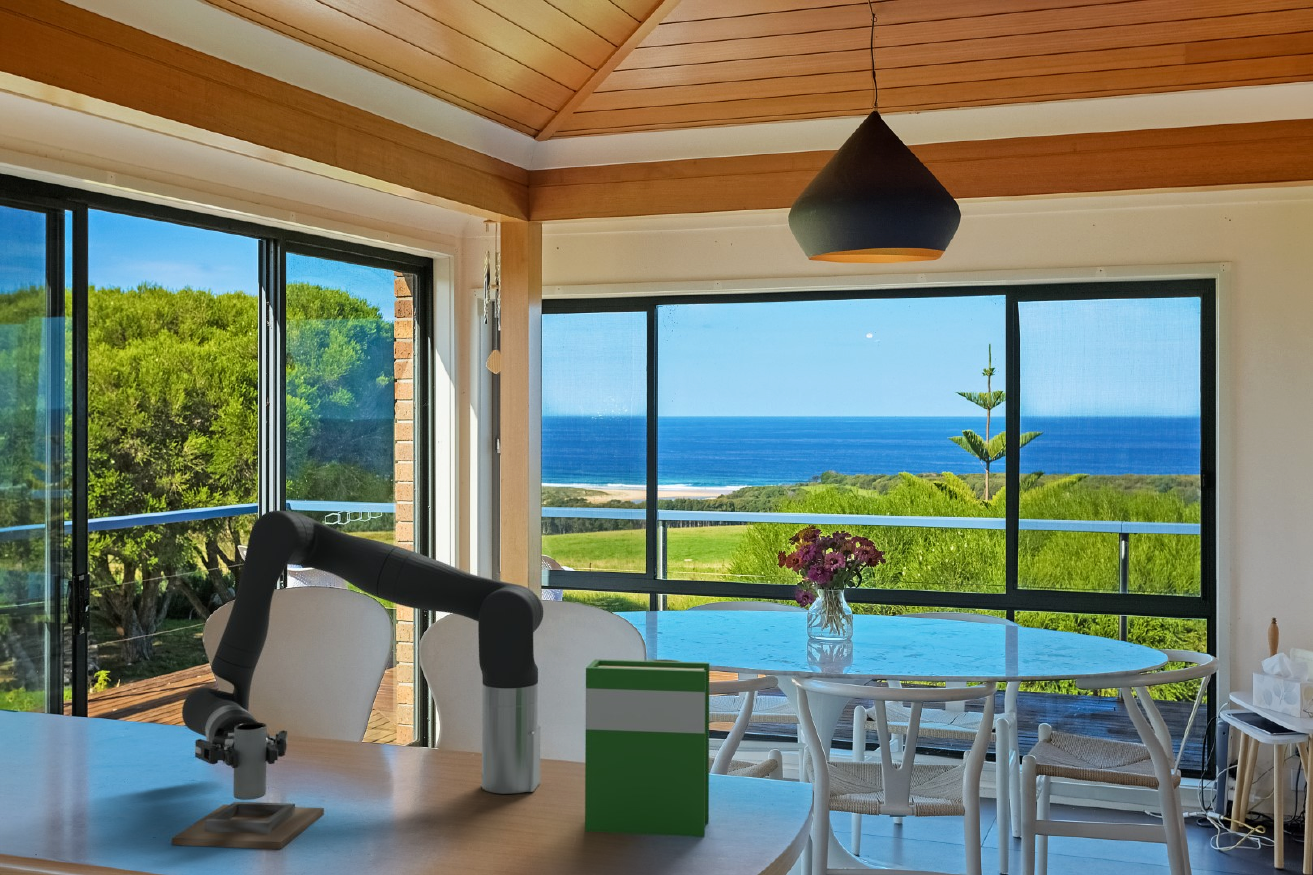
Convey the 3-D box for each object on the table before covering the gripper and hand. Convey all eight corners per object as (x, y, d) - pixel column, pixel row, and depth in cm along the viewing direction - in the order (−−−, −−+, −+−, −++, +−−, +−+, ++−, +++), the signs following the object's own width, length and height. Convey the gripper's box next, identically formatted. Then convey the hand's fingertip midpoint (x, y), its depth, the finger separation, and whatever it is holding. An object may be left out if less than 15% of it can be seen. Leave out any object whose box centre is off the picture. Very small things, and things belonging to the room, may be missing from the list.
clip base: (323, 814, 182) (323, 798, 182) (280, 848, 166) (281, 831, 166) (223, 810, 183) (223, 794, 183) (171, 844, 167) (171, 827, 167)
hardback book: (708, 821, 180) (709, 662, 180) (704, 836, 172) (705, 671, 173) (594, 815, 182) (595, 659, 182) (584, 831, 174) (585, 667, 175)
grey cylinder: (255, 801, 172) (256, 730, 172) (227, 798, 173) (228, 728, 173) (271, 792, 177) (272, 723, 177) (244, 789, 178) (245, 721, 178)
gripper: (185, 713, 184) (202, 738, 169) (280, 704, 191) (304, 728, 176) (184, 762, 184) (201, 791, 169) (279, 751, 191) (303, 778, 176)
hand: (254, 758), depth 172 cm, fingers closed on grey cylinder, 4 cm apart
